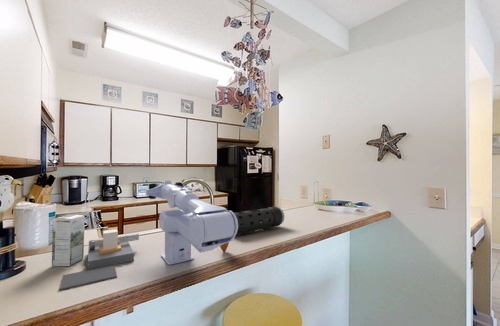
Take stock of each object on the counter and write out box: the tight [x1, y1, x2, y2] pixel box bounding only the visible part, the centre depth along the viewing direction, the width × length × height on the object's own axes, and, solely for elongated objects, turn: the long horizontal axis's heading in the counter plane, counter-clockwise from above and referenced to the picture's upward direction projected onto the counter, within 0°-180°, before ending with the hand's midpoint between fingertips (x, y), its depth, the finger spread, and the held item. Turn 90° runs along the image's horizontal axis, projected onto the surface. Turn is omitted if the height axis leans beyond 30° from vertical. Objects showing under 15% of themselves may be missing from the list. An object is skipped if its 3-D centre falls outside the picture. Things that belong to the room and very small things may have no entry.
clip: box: [88, 233, 140, 250], centre depth 81 cm, size 2×15×3 cm, turn 125°
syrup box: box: [51, 214, 86, 267], centre depth 73 cm, size 6×6×14 cm
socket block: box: [87, 241, 135, 270], centre depth 77 cm, size 16×12×2 cm
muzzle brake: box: [233, 206, 285, 237], centre depth 108 cm, size 10×28×10 cm, turn 126°
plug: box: [99, 228, 121, 254], centre depth 77 cm, size 6×6×8 cm
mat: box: [59, 265, 118, 291], centre depth 63 cm, size 9×12×1 cm
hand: (161, 187), depth 93 cm, fingers open, 7 cm apart
